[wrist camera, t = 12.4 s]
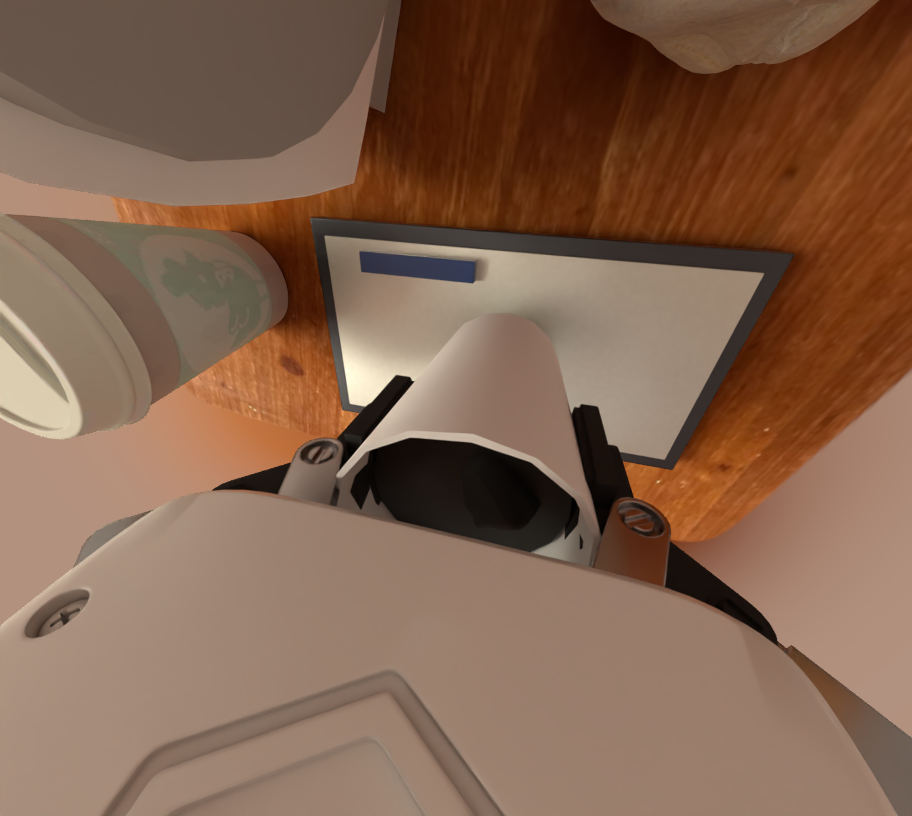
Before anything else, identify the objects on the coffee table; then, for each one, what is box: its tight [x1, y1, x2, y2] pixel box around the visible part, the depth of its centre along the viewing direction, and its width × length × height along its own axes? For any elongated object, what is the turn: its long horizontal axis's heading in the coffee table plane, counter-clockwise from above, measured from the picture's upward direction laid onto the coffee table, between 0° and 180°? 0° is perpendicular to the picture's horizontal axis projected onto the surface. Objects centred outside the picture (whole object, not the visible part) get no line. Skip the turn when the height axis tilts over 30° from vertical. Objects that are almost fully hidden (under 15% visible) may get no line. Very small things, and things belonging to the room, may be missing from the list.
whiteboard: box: [310, 217, 794, 470], centre depth 18 cm, size 22×12×2 cm, turn 87°
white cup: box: [336, 313, 601, 567], centre depth 12 cm, size 7×7×10 cm
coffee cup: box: [0, 213, 288, 439], centre depth 16 cm, size 8×8×12 cm
